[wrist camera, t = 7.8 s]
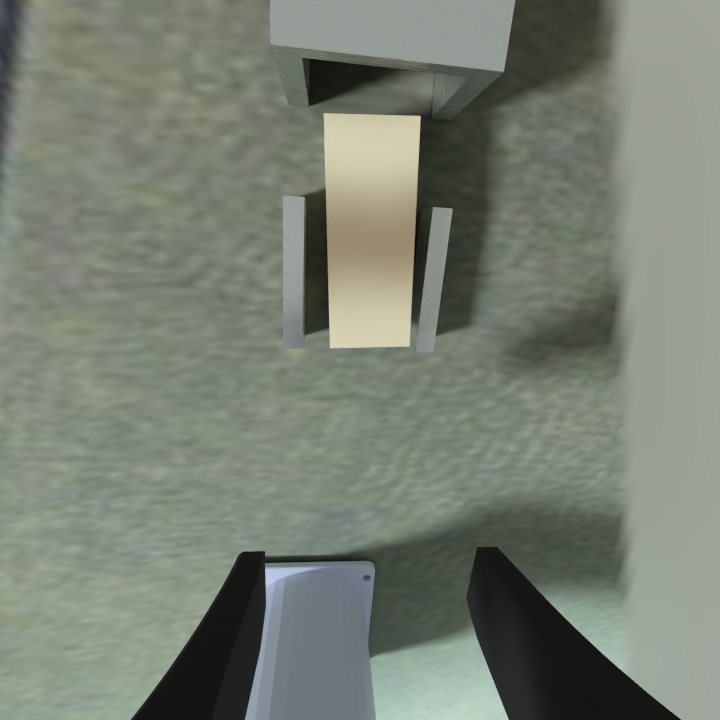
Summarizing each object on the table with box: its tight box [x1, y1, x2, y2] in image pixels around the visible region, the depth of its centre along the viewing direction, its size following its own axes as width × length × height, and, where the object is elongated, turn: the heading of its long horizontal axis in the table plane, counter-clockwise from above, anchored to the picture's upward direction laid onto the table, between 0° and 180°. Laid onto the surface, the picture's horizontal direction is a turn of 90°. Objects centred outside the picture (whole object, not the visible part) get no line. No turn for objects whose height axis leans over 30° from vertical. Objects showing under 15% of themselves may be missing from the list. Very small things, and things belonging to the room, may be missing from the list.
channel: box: [283, 196, 453, 353], centre depth 16 cm, size 6×7×2 cm
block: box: [270, 0, 515, 121], centre depth 12 cm, size 4×7×5 cm, turn 86°
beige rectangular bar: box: [324, 113, 421, 348], centre depth 15 cm, size 8×3×4 cm, turn 0°
